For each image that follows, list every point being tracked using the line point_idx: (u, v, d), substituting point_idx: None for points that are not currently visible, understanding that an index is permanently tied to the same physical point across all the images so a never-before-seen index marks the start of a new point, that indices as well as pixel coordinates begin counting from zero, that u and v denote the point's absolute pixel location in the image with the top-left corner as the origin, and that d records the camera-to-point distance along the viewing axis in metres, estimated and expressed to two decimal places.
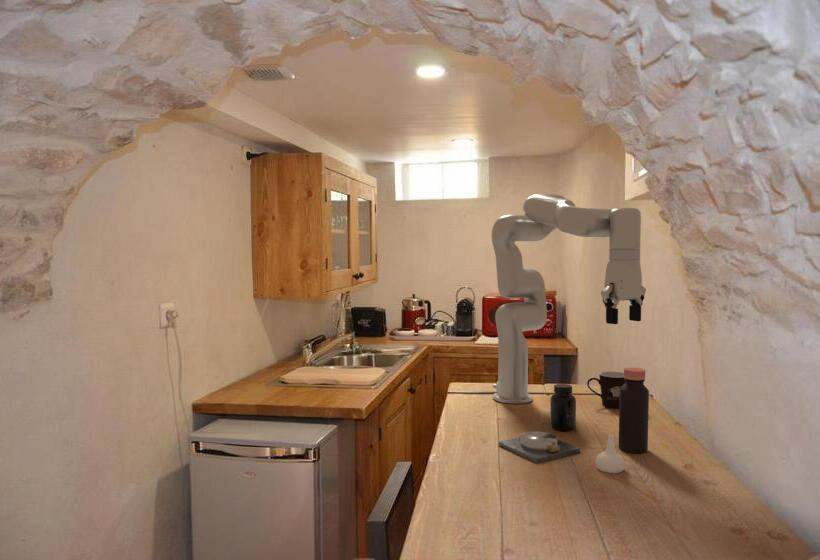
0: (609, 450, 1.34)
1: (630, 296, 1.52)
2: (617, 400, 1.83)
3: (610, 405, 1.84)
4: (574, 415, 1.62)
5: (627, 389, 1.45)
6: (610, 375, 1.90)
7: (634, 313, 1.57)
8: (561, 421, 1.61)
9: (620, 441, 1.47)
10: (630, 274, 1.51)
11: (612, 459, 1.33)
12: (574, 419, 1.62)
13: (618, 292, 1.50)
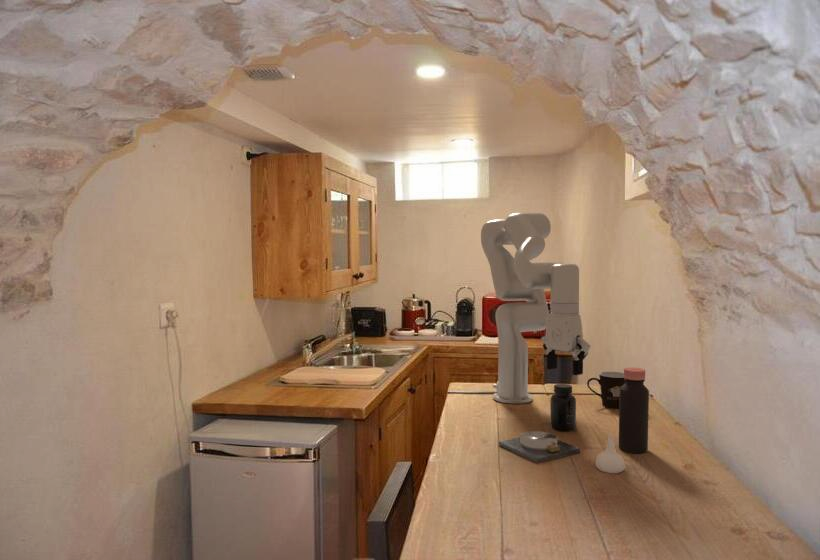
0: (609, 450, 1.34)
1: None
2: (617, 400, 1.83)
3: (610, 405, 1.84)
4: (574, 415, 1.62)
5: (627, 389, 1.45)
6: (610, 375, 1.90)
7: (553, 361, 1.67)
8: (561, 421, 1.61)
9: (620, 441, 1.47)
10: None
11: (612, 459, 1.33)
12: (574, 419, 1.62)
13: None
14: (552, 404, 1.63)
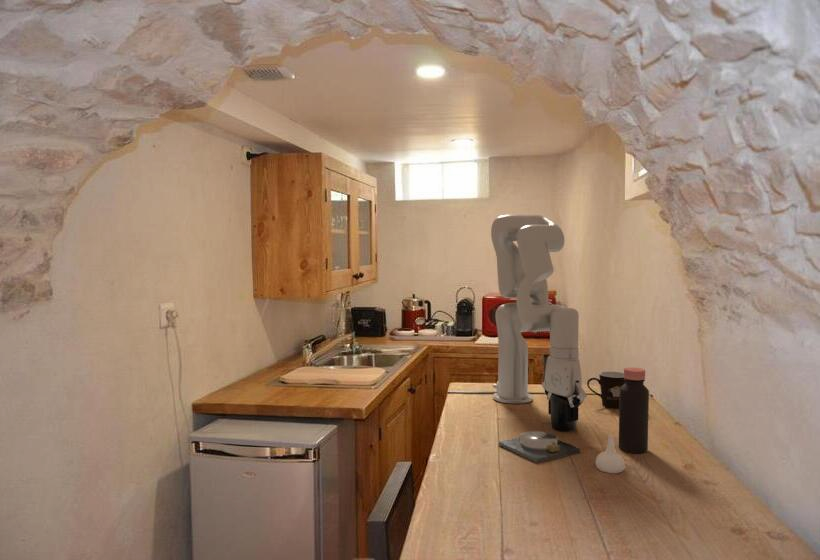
0: (609, 450, 1.34)
1: None
2: (617, 400, 1.83)
3: (610, 405, 1.84)
4: None
5: (627, 389, 1.45)
6: (610, 375, 1.90)
7: None
8: (561, 421, 1.61)
9: (620, 441, 1.47)
10: None
11: (612, 459, 1.33)
12: None
13: None
14: (552, 404, 1.63)
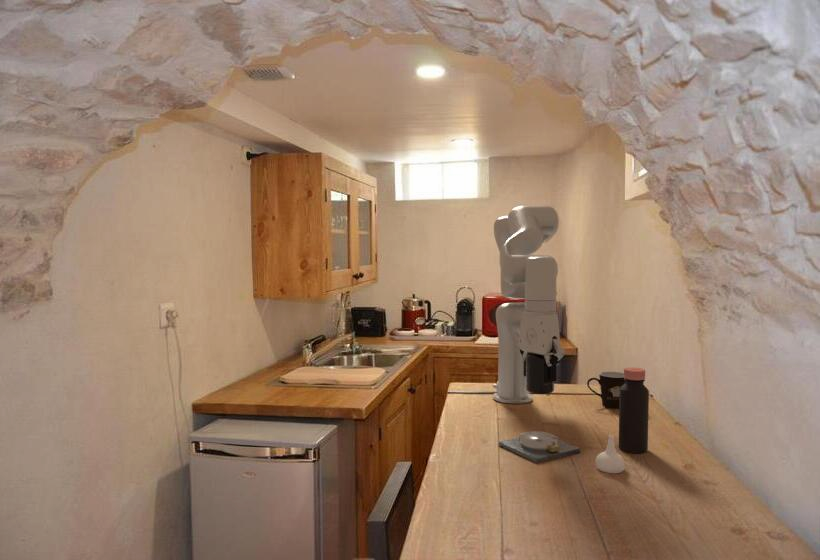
0: (609, 450, 1.34)
1: None
2: (617, 400, 1.83)
3: (610, 405, 1.84)
4: None
5: (627, 389, 1.45)
6: (610, 375, 1.90)
7: None
8: (537, 382, 1.44)
9: (620, 441, 1.47)
10: None
11: (612, 459, 1.32)
12: None
13: None
14: (527, 364, 1.46)
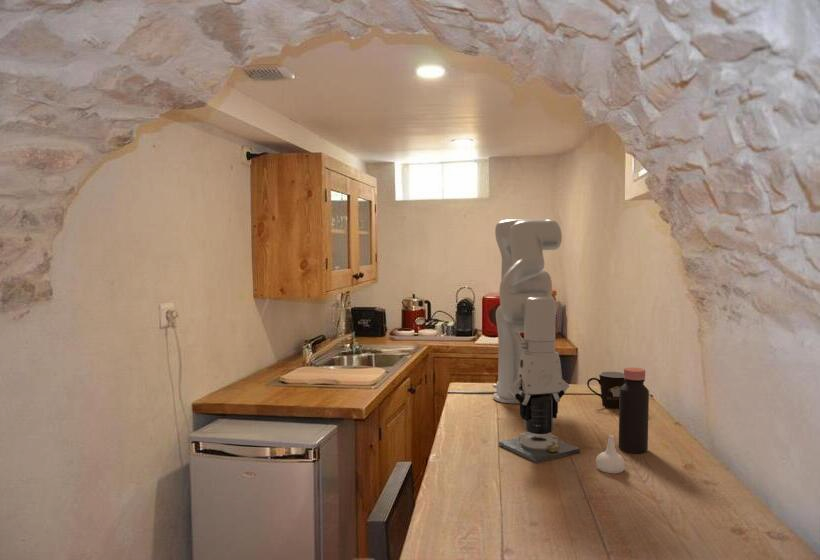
0: (609, 450, 1.34)
1: None
2: (617, 400, 1.83)
3: (610, 405, 1.84)
4: None
5: (627, 389, 1.45)
6: (610, 375, 1.90)
7: None
8: (552, 421, 1.46)
9: (620, 441, 1.47)
10: None
11: (612, 459, 1.32)
12: None
13: None
14: (543, 406, 1.44)
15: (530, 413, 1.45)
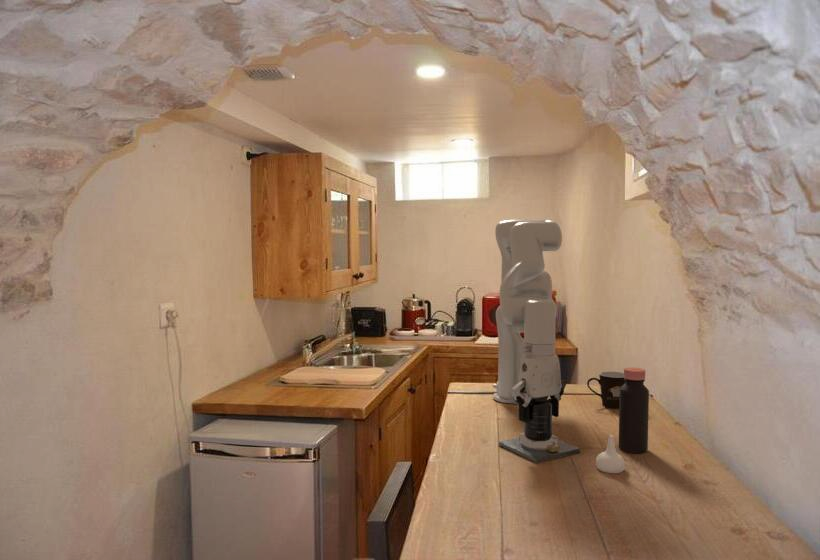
0: (609, 450, 1.34)
1: None
2: (617, 400, 1.83)
3: (610, 405, 1.84)
4: None
5: (627, 389, 1.45)
6: (610, 375, 1.90)
7: None
8: (551, 426, 1.47)
9: (620, 441, 1.47)
10: None
11: (612, 459, 1.32)
12: None
13: None
14: (545, 412, 1.45)
15: (532, 420, 1.45)
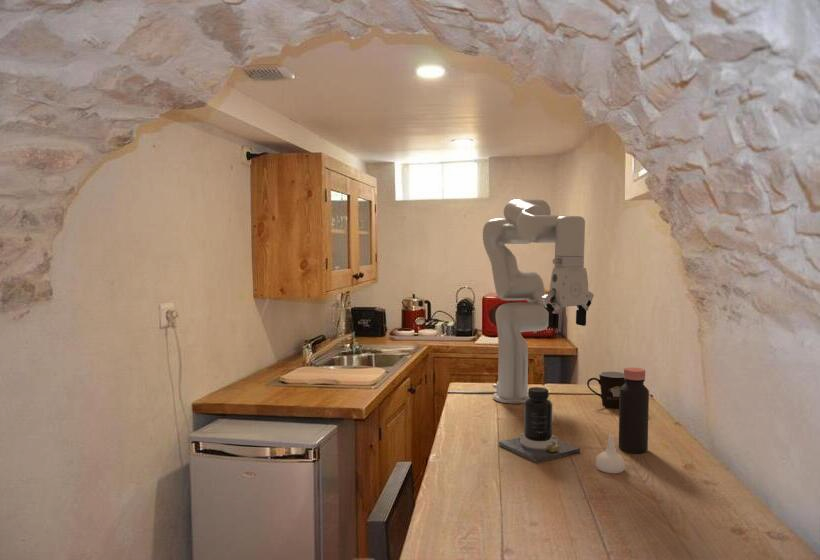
0: (609, 450, 1.34)
1: None
2: (617, 400, 1.83)
3: (610, 405, 1.84)
4: None
5: (627, 389, 1.45)
6: (610, 375, 1.90)
7: None
8: None
9: (620, 441, 1.47)
10: None
11: (612, 459, 1.32)
12: None
13: None
14: (545, 412, 1.45)
15: (532, 420, 1.45)
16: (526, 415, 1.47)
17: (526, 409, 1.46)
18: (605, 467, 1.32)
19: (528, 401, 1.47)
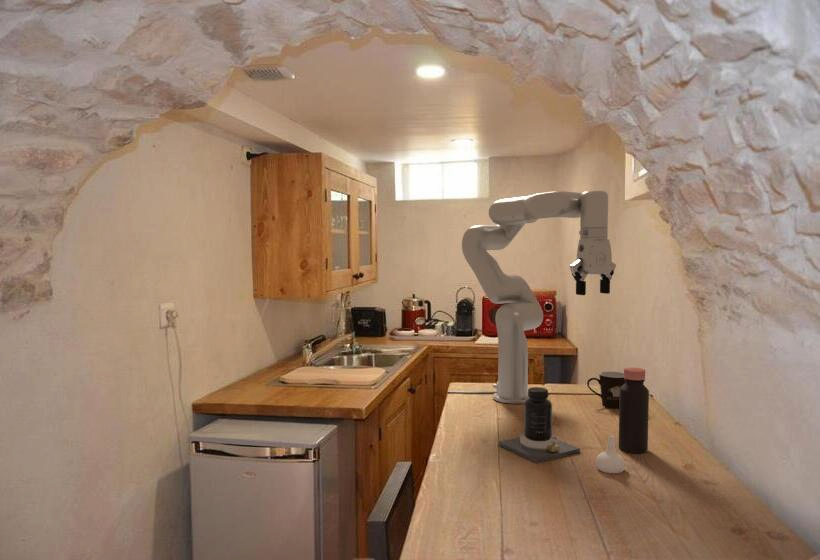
0: (609, 450, 1.34)
1: None
2: (617, 400, 1.83)
3: (610, 405, 1.84)
4: None
5: (627, 389, 1.45)
6: (610, 375, 1.90)
7: None
8: (551, 426, 1.47)
9: (620, 441, 1.47)
10: None
11: (612, 460, 1.32)
12: None
13: None
14: (545, 412, 1.45)
15: (532, 420, 1.45)
16: (526, 415, 1.47)
17: (526, 409, 1.46)
18: (605, 467, 1.32)
19: (528, 401, 1.47)
